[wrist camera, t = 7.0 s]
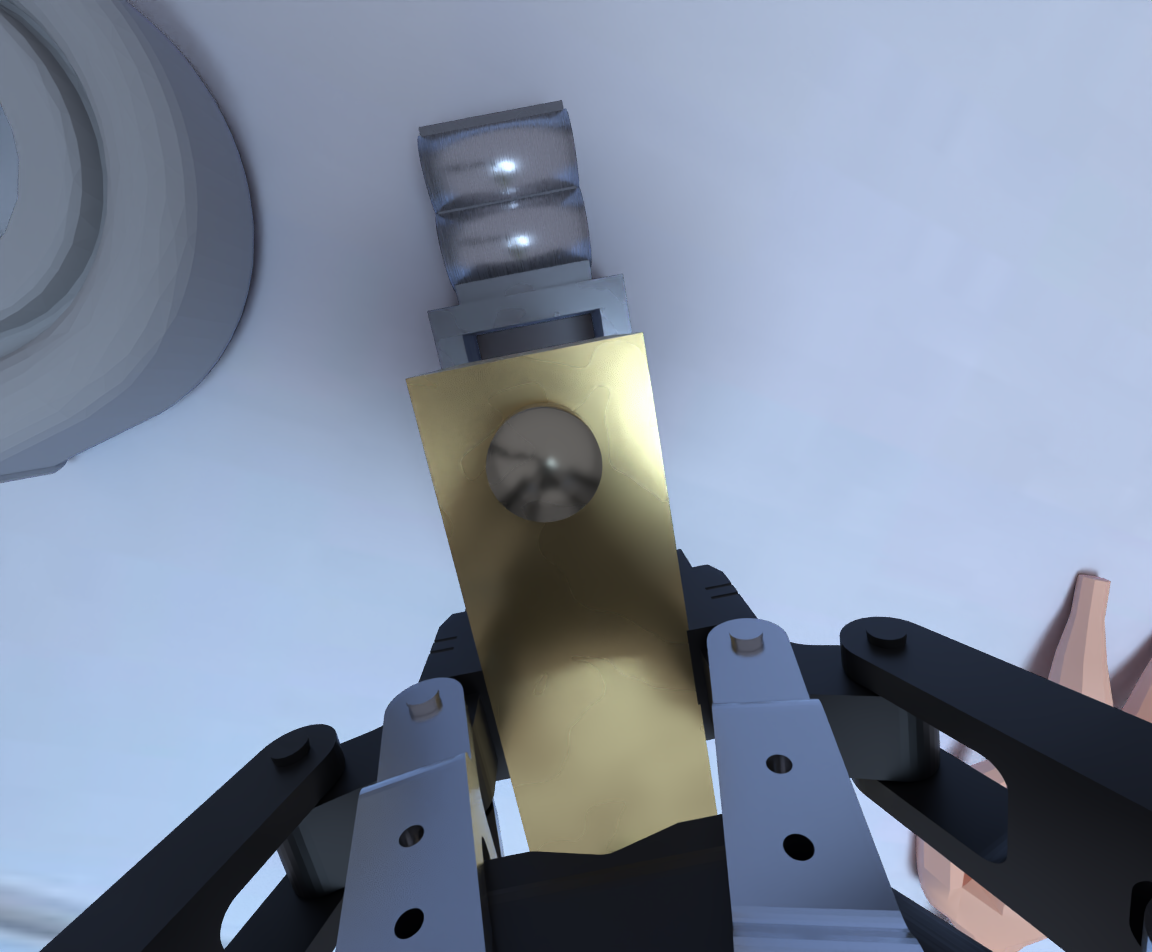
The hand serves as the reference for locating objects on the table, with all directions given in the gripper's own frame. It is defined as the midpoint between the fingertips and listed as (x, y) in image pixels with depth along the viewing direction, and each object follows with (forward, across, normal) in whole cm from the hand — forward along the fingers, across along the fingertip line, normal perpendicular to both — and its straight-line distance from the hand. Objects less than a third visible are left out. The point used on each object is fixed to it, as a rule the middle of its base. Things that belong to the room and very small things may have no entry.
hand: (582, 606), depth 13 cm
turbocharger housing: (+13, +17, -14) cm, 26 cm away
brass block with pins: (+1, 0, 0) cm, 1 cm away
